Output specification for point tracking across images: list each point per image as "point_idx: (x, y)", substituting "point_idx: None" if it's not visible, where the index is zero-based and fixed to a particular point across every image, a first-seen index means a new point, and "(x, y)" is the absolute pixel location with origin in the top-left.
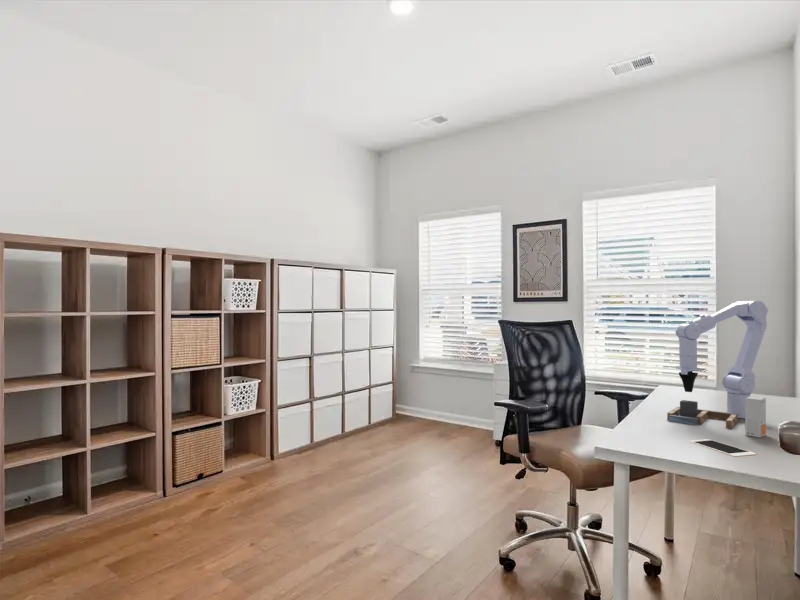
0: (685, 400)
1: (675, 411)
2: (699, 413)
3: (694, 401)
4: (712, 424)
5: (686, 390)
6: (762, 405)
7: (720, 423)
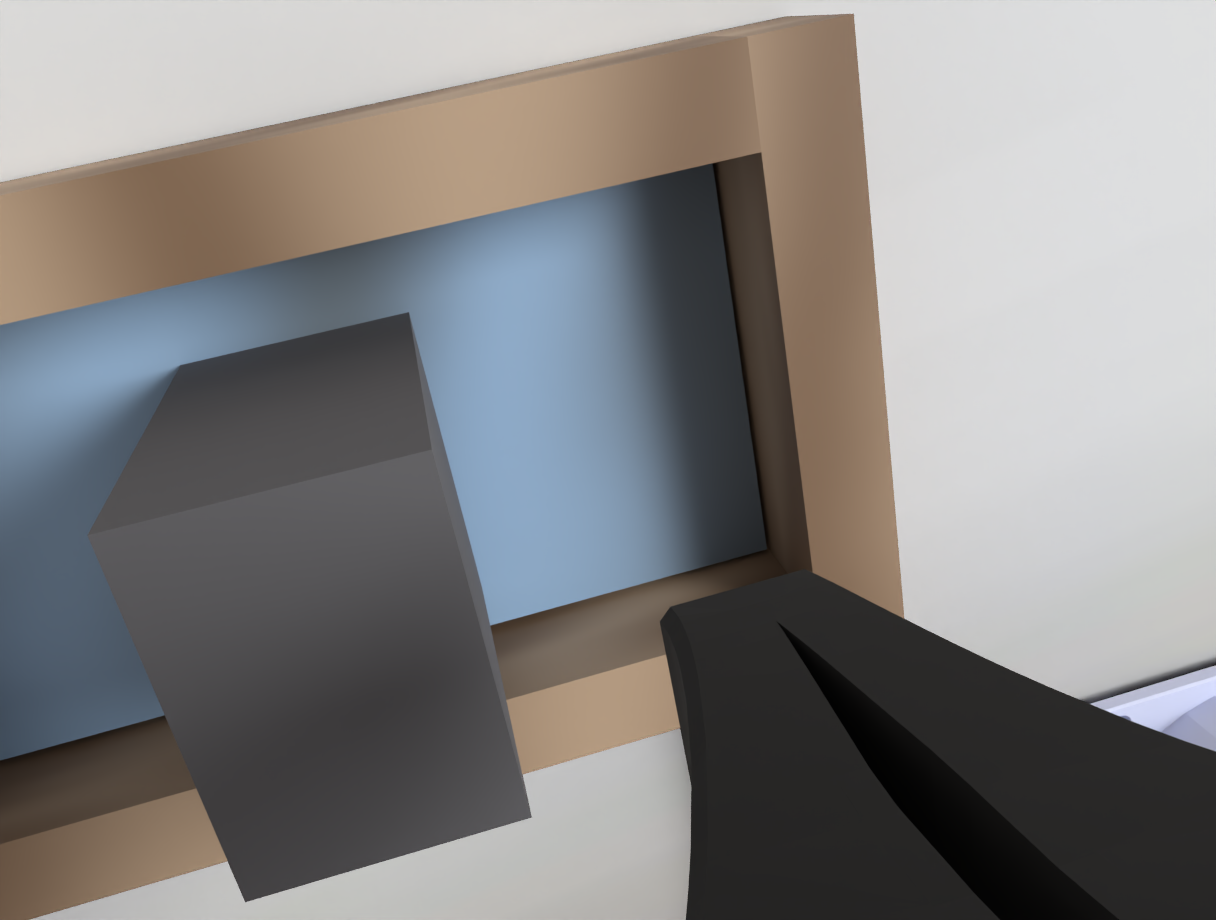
0: (433, 552)
1: (123, 295)
2: (779, 509)
3: (498, 762)
4: (245, 903)
5: (680, 688)
6: None
7: (452, 916)
